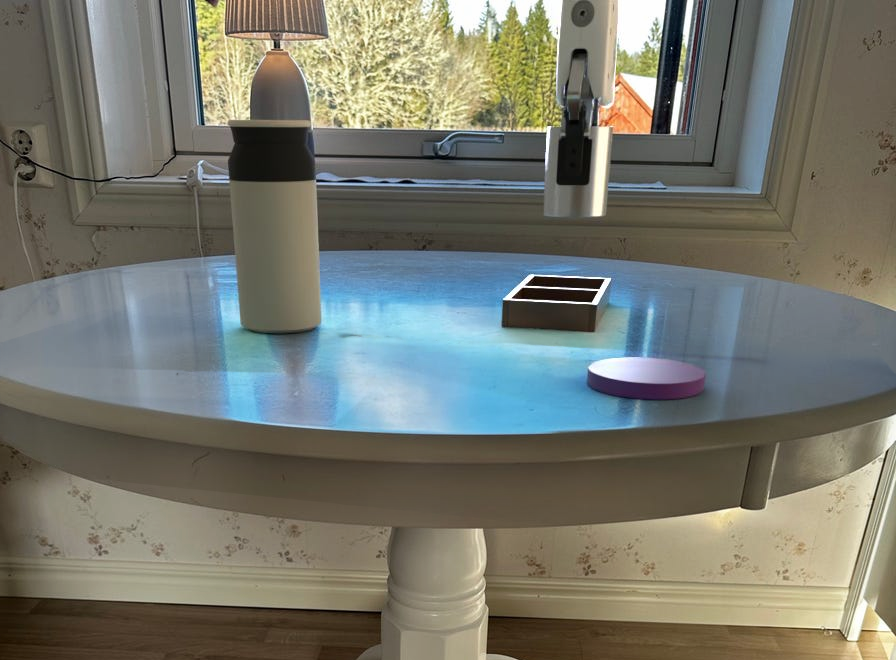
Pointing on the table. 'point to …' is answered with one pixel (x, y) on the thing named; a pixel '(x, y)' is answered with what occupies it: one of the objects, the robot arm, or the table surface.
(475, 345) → the table surface
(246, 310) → the travel mug
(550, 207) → the brushed metal canister
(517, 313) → the divided storage tray
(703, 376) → the purple lid
